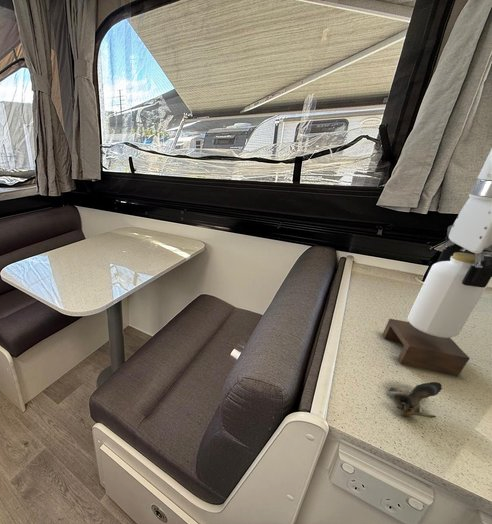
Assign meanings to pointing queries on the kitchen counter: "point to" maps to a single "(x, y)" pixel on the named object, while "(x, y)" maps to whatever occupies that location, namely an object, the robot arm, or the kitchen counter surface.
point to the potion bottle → (445, 298)
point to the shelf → (426, 349)
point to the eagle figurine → (415, 398)
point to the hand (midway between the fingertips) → (458, 275)
